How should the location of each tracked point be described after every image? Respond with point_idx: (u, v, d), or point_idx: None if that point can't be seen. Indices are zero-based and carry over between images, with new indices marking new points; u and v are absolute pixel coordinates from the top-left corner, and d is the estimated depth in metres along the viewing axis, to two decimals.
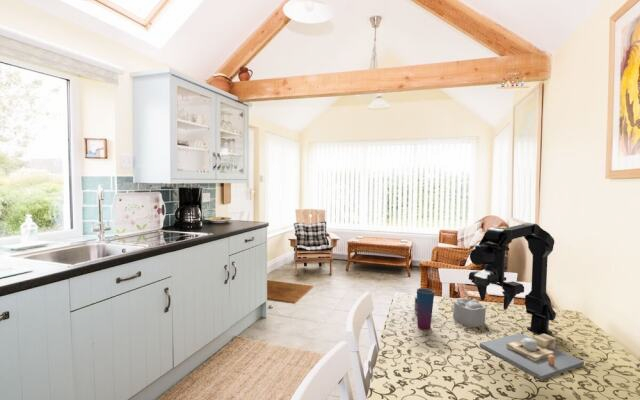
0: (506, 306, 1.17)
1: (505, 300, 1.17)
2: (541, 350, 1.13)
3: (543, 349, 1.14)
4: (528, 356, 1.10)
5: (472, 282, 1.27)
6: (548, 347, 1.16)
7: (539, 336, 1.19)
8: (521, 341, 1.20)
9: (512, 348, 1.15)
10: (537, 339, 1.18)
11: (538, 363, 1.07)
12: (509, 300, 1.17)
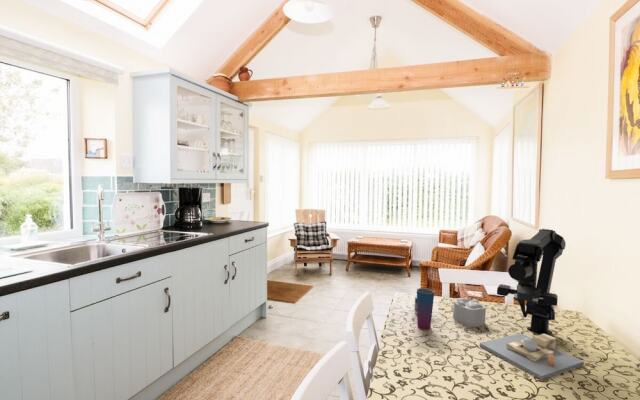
0: (527, 314, 1.23)
1: (528, 309, 1.22)
2: (541, 350, 1.13)
3: (543, 349, 1.14)
4: (528, 356, 1.10)
5: None
6: (548, 347, 1.16)
7: (539, 336, 1.19)
8: (521, 341, 1.20)
9: (512, 348, 1.15)
10: (537, 339, 1.18)
11: (538, 363, 1.07)
12: None
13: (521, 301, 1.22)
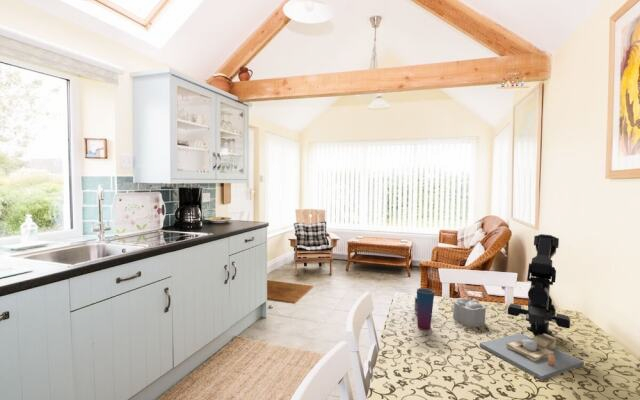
0: None
1: (539, 330, 1.20)
2: (541, 350, 1.13)
3: (543, 349, 1.14)
4: (528, 356, 1.10)
5: None
6: (548, 347, 1.16)
7: (539, 336, 1.19)
8: (521, 341, 1.20)
9: (512, 348, 1.16)
10: (537, 339, 1.18)
11: (538, 363, 1.07)
12: None
13: (533, 322, 1.20)
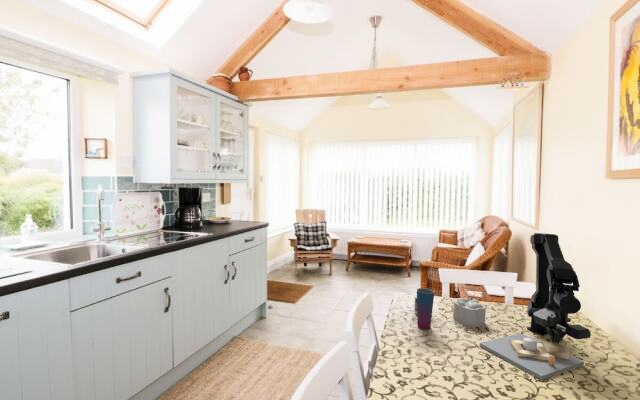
0: None
1: (555, 337, 1.15)
2: (538, 352, 1.12)
3: (543, 353, 1.12)
4: (515, 351, 1.14)
5: None
6: (555, 354, 1.11)
7: (551, 343, 1.14)
8: None
9: (511, 343, 1.19)
10: (545, 344, 1.14)
11: (538, 363, 1.07)
12: (560, 337, 1.15)
13: (547, 327, 1.16)
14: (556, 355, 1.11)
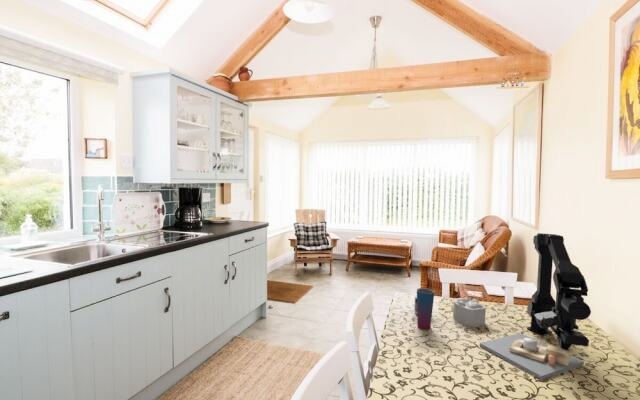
0: None
1: (560, 342, 1.11)
2: (533, 352, 1.12)
3: (539, 354, 1.11)
4: None
5: None
6: None
7: (553, 347, 1.11)
8: (538, 345, 1.17)
9: None
10: None
11: (538, 363, 1.07)
12: (566, 344, 1.10)
13: (554, 331, 1.13)
14: None
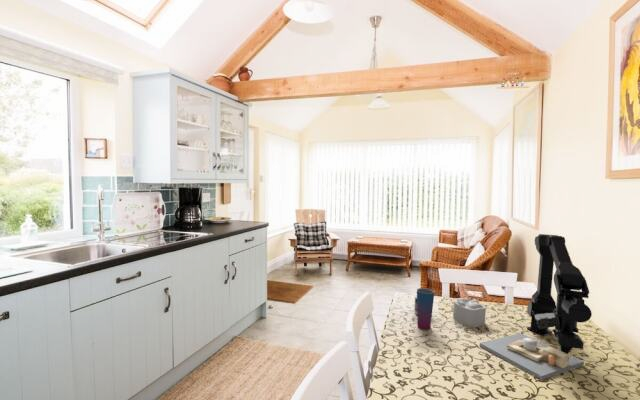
0: None
1: (560, 345, 1.09)
2: (530, 352, 1.12)
3: (536, 354, 1.11)
4: None
5: None
6: None
7: (553, 349, 1.10)
8: (541, 347, 1.16)
9: None
10: None
11: (538, 363, 1.07)
12: (566, 347, 1.08)
13: None
14: None
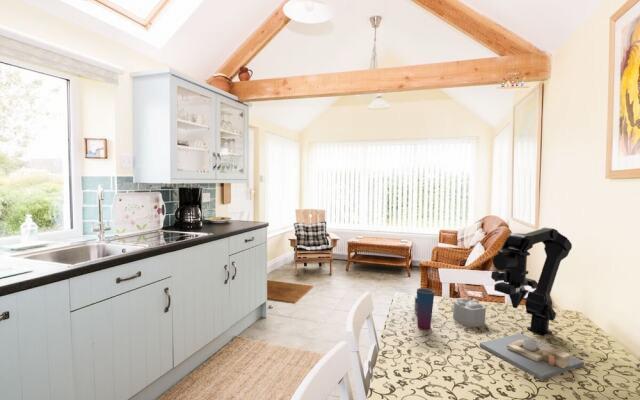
0: (513, 304, 1.27)
1: None
2: (530, 352, 1.12)
3: (536, 354, 1.11)
4: None
5: None
6: None
7: (553, 349, 1.10)
8: (541, 347, 1.16)
9: None
10: None
11: (538, 363, 1.07)
12: (514, 299, 1.26)
13: None
14: None
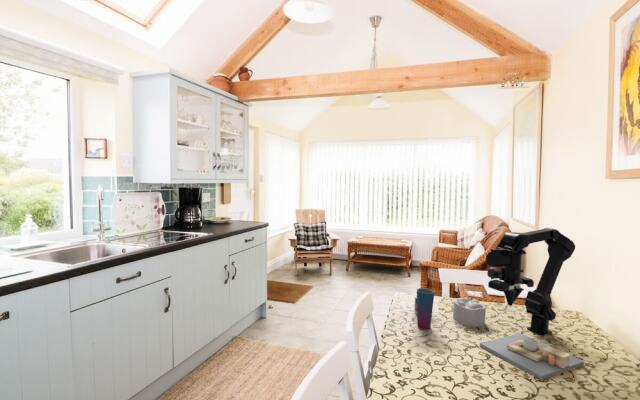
0: (508, 302, 1.29)
1: None
2: (530, 352, 1.12)
3: (536, 354, 1.11)
4: None
5: None
6: None
7: (553, 349, 1.10)
8: (541, 347, 1.16)
9: None
10: None
11: (538, 363, 1.07)
12: (509, 297, 1.28)
13: None
14: None
